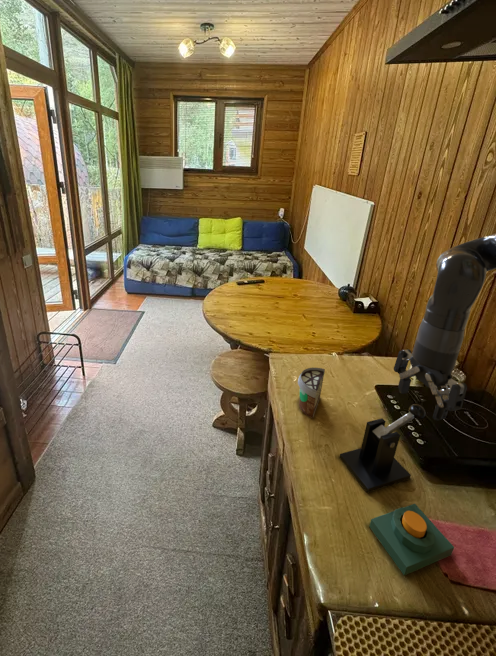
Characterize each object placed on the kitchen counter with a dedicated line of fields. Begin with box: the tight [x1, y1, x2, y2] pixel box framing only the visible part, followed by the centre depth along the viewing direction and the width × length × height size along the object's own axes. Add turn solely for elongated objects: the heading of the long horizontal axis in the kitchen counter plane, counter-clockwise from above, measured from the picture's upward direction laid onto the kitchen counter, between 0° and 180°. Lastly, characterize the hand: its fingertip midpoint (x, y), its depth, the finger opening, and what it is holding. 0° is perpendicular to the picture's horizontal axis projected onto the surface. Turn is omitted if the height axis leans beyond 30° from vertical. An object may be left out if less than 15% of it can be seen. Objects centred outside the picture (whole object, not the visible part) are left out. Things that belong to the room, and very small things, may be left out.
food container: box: [297, 367, 326, 419], centre depth 90 cm, size 12×6×10 cm, turn 149°
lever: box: [372, 403, 427, 442], centre depth 70 cm, size 13×3×3 cm, turn 107°
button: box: [402, 511, 427, 538], centre depth 57 cm, size 4×4×2 cm
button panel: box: [368, 503, 455, 576], centre depth 57 cm, size 11×8×4 cm
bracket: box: [338, 417, 412, 494], centre depth 70 cm, size 12×9×12 cm
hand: (419, 404), depth 70 cm, fingers open, 8 cm apart
